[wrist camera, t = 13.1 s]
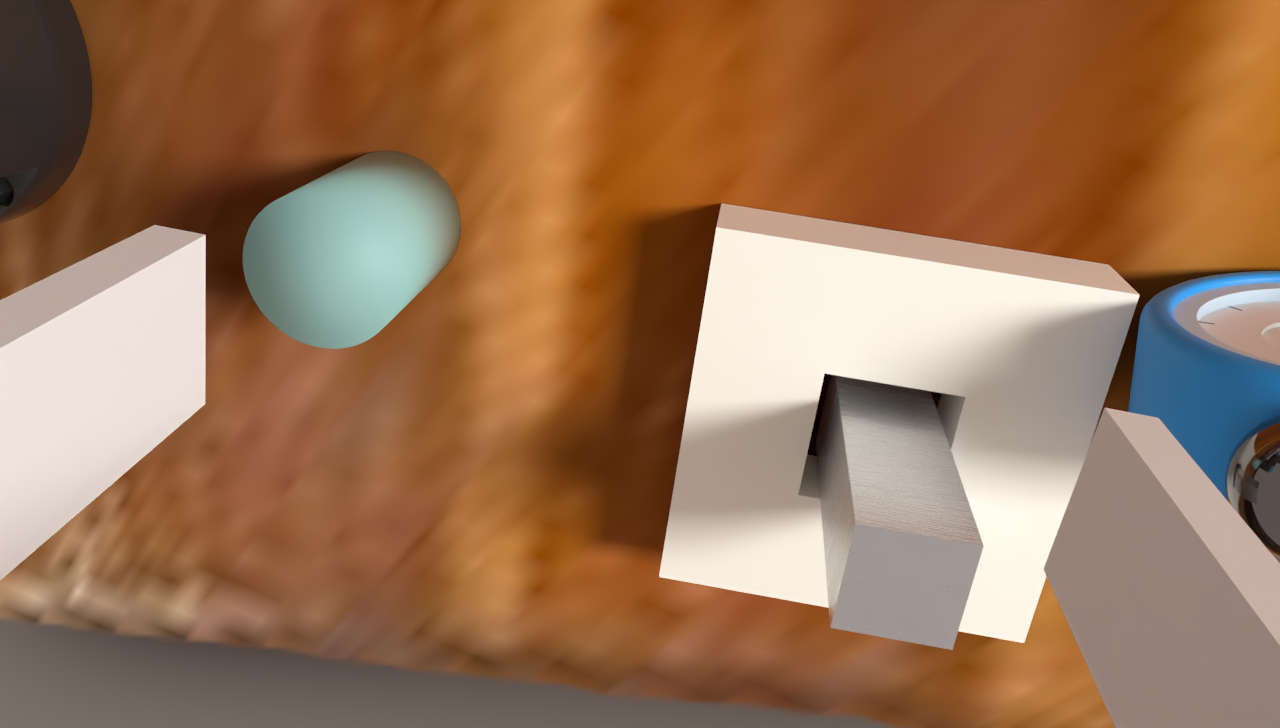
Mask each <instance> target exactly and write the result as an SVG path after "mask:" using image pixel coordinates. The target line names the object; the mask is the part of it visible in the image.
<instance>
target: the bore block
mask: <svg viewBox="0 0 1280 728" xmlns="http://www.w3.org/2000/svg"><path fill="white" fill-rule="evenodd" d="M1139 296H1140V294H1138V293H1137V292H1136V291H1135V290H1134V289H1133V288H1132V287H1131V286H1130V285H1129V284H1128V283H1127V282H1126V281H1125V280H1124V279H1123V278H1122V277H1121V276H1120V275H1119V274H1118V273H1117V272H1116V271H1115V270H1114V269H1113V268H1112V267H1111V266H1110V265H1108V264H1101V263H1095V262H1089V261H1082V260H1076V259H1070V258H1063V257H1057V256H1051V255H1044V254H1038V253H1032V252H1026V251H1019V250H1013V249H1007V248H1000V247H994V246H988V245H981V244H975V243H969V242H962V241H956V240H950V239H943V238H937V237H931V236H925V235H918V234H912V233H906V232H899V231H893V230H887V229H880V228H874V227H868V226H861V225H855V224H849V223H843V222H836V221H830V220H824V219H817V218H811V217H805V216H798V215H792V214H786V213H779V212H773V211H767V210H761V209H754V208H748V207H742V206H735V205H729V204H723V203H721V208H720V212H719V217H718V222H717V226H716V232H715V238H714V245H713V251H712V257H711V263H710V269H709V275H708V281H707V287H706V293H705V299H704V305H703V312H702V318H701V324H700V330H699V336H698V342H697V348H696V354H695V360H694V366H693V372H692V379H691V385H690V391H689V397H688V403H687V409H686V415H685V421H684V427H683V433H682V439H681V446H680V452H679V458H678V464H677V470H676V476H675V482H674V488H673V494H672V500H671V506H670V513H669V519H668V525H667V531H666V537H665V543H664V549H663V555H662V561H661V567H660V573H659V577H662V578H668V579H673V580H679V581H684V582H690V583H696V584H701V585H707V586H712V587H718V588H723V589H729V590H734V591H740V592H745V593H751V594H756V595H762V596H767V597H773V598H778V599H784V600H789V601H795V602H800V603H806V604H811V605H817V606H822V607H828V608H829V604H828V592H827V579H826V566H825V553H824V541H823V528H822V515H821V503H820V490H819V477H818V465H817V456H813V455H808V454H807V452H808V448H809V443H810V439H811V434H812V429H813V425H814V420H815V416H816V411H817V406H818V402H819V397H820V393H821V388H822V383H823V379H824V374H831V375H836V376H842V377H848V378H854V379H860V380H866V381H872V382H878V383H884V384H890V385H896V386H902V387H908V388H914V389H920V390H926V391H932V392H938V393H941V396H940V400H939V404H938V408H937V411H938V414H939V417H940V420H941V423H942V426H943V429H944V432H945V435H946V438H947V441H948V443H949V446H950V449H951V452H952V455H953V458H954V461H955V464H956V467H957V470H958V473H959V475H960V478H961V481H962V484H963V487H964V490H965V493H966V496H967V499H968V502H969V505H970V508H971V510H972V513H973V516H974V519H975V522H976V525H977V528H978V531H979V534H980V537H981V540H982V542H983V545H984V547H983V550H982V553H981V557H980V560H979V563H978V567H977V570H976V573H975V576H974V580H973V583H972V586H971V590H970V593H969V596H968V600H967V603H966V606H965V610H964V613H963V616H962V620H961V623H960V626H959V629H958V631H960V632H966V633H971V634H977V635H982V636H988V637H993V638H999V639H1004V640H1010V641H1015V642H1021V643H1024V642H1025V639H1026V636H1027V633H1028V630H1029V627H1030V624H1031V621H1032V618H1033V615H1034V612H1035V609H1036V606H1037V603H1038V600H1039V597H1040V594H1041V591H1042V588H1043V585H1044V582H1045V579H1046V574H1045V571H1044V566H1045V564H1046V561H1047V558H1048V556H1049V553H1050V550H1051V548H1052V545H1053V543H1054V540H1055V537H1056V535H1057V532H1058V529H1059V527H1060V524H1061V521H1062V519H1063V516H1064V513H1065V511H1066V508H1067V506H1068V503H1069V500H1070V498H1071V495H1072V492H1073V490H1074V487H1075V484H1076V482H1077V479H1078V476H1079V474H1080V471H1081V469H1082V466H1083V463H1084V461H1085V458H1086V455H1087V452H1088V449H1089V446H1090V443H1091V440H1092V437H1093V434H1094V431H1095V428H1096V425H1097V422H1098V419H1099V416H1100V413H1101V410H1102V407H1103V404H1104V401H1105V398H1106V395H1107V392H1108V389H1109V386H1110V383H1111V380H1112V377H1113V374H1114V371H1115V368H1116V365H1117V362H1118V359H1119V356H1120V353H1121V350H1122V347H1123V344H1124V341H1125V338H1126V335H1127V332H1128V329H1129V326H1130V323H1131V320H1132V317H1133V314H1134V311H1135V308H1136V305H1137V302H1138V299H1139Z"/></svg>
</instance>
